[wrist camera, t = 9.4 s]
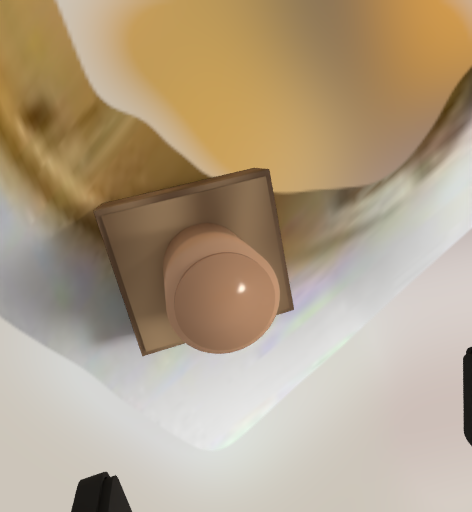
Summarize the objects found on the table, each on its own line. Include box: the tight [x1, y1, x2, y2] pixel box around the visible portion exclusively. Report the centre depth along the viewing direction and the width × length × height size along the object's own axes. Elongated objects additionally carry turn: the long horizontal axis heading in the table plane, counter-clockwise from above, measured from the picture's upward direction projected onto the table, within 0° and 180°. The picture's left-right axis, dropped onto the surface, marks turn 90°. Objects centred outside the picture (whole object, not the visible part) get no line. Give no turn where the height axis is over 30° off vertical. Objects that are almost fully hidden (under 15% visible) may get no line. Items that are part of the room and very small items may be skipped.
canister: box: [163, 223, 280, 354], centre depth 21 cm, size 6×6×7 cm
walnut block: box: [93, 168, 294, 356], centre depth 27 cm, size 12×11×4 cm
